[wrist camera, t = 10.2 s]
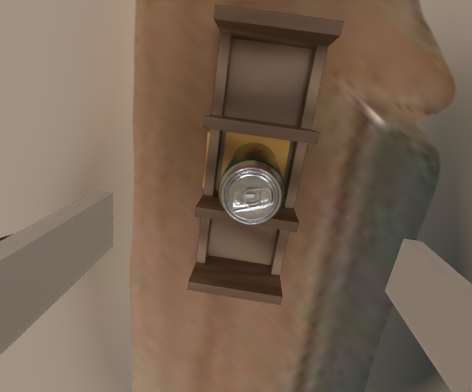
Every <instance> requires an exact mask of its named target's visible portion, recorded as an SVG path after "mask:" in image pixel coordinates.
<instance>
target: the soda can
mask: <svg viewBox="0 0 472 392" xmlns="http://www.w3.org/2000/svg"><path fill="white" fill-rule="evenodd" d="M285 196H286V189H285V183H284V180H283V177H282V174H281V172H280V169H279V166H278V163H277V160H276V158H275V155H274V154H273V152H272V151H271V150H270V149H269V148H268V147H267V146H265V145H263V144H260V143H248V144H245V145H243V146H241V147H240V148H238V149H237V150H236V152H235V153H234V155H233V156H232V158H231V160H230V162H229V164H228V166H227V168H226V170H225V171H224V173H223V175H222V177H221V179H220V182H219V186H218V197H219V201H220V204H221V206H222V208H223V209H224V210H225V212H226V213H227V214H228V215H229V216H230V217H232V218H233V219H234V220H236V221H238V222H240V223H243V224H247V225H256V224H261V223H263V222H266V221H267V220H269V219H271V218H272V217H274V216H275V215H276V214H277V213H278V212H279V210H280V209H281V207H282V206H283V203H284V200H285Z"/></svg>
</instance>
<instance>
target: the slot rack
mask: <svg viewBox="0 0 472 392" xmlns="http://www.w3.org/2000/svg"><path fill="white" fill-rule="evenodd" d="M214 20H215V22H216V24H217V26H218V28H219V30H220V42H219V51H218V61H217V70H216V80H215V89H214V99H213V109H212V115H210V116H205V117H204V127H203V128H207V129H210V131H209V132H208V136H207V146H206V156H205V165H204V175H203V185H202V187H203V188H204V194H203V196H202V198H201V199H200V201H199V203H198V204H197V206H196V210H195V217H201V223H200V233H199V242H198V252H197V261H196V264H195V267H194V269H193V272H192V274H191V277H190V279H189V282H188V290H193V291H199V292H205V293H211V294H217V295H223V296H229V297H235V298H241V299H247V300H254V301H260V302H266V303H272V304H278V305H281V301H282V290H281V282H280V272H281V267H282V262H283V257H284V253H285V248H286V243H287V238H288V234H289V231H292V232H297V229H298V224H299V222H298V219H297V216H296V213H295V211H294V205H295V201H296V196H297V191H298V186H299V182H300V177H301V172H302V168H303V163H304V158H305V153H306V149H307V144H308V143H311V144H316V143H317V138H318V134H319V133H318V132H316V131H313V130H311V125H312V120H313V116H314V111H315V106H316V101H317V97H318V92H319V87H320V83H321V78H322V73H323V68H324V64H325V59H326V54H327V49H328V46H329V45H330V44H331V43H333V42H334V41H335V40H336V39H337V38H338V37H339V36H340V34H341V30H342V25H343V21H338V20H331V19H323V18H315V17H308V16H300V15H293V14H285V13H277V12H270V11H262V10H254V9H247V8H239V7H232V6H224V5H216V4H215V15H214ZM248 143H260V144H263V145H265V146H267V147H268V148H269V149H270V150H271V151H272V152H273V154H274V155H275V158H276V160H277V163H278V166H279V169H280V172H281V174H282V177H283V180H284V183H285V189H286V196H285V200H284V203H283V206H282V207H281V209H280V210H279V212H278V213H277V214H276V215H275V216H274V217H272V218H271V219H269V220H267V221H266V222H263V223H261V224H256V225H247V224H243V223H240V222H238V221H236V220H234V219H233V218H232V217H230V216H229V215H228V214H227V213H226V212H225V210H224V209H223V208H222V206H221V204H220V201H219V197H218V186H219V182H220V179H221V177H222V175H223V173H224V171H225V170H226V168H227V166H228V164H229V162H230V160H231V158H232V156H233V155H234V153H235V152H236V150H237V149H238V148H240V147H241V146H243V145H245V144H248Z"/></svg>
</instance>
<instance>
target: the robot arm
mask: <svg viewBox="0 0 472 392" xmlns="http://www.w3.org/2000/svg"><path fill="white" fill-rule="evenodd" d="M112 247H113V193H108V192H102V191H95V192H93V193H91V194H89V195H87V196H85V197H83V198H82V199H80V200H78V201H76V202H74V203H72V204H70V205H68V206H66V207H64V208H62V209H60V210H59V211H57V212H55V213H53V214H51V215H49V216H47V217H45V218H44V219H41V220H40V221H38V222H36V223H34V224H32V225H30V226H28V227H26V228H25V229H22V230H20V231H19V232H17V233H15V234H12V235H9V236H5V237H2V238H0V355H1V354H2V353H3V352H4V351H5V350H6V349H7V348H8V347H9V346H10V345H11V344H12V343H13V342H14V341H16V340H17V339H18V338H19V337H20V336H21V335H22V334H23V333H24V332H25V331H26V330H27V329H28V328H29V327H30V326H31V325H32V324H33V323H34V322H35V321H36V320H37V319H38V318H39V317H40V316H41V315H43V313H45V312H46V311H47V310H48V309H49V308H50V307H51V306H52V305H53V304H54V303H55V302H56V301H57V300H58V299H59V298H60V297H61V296H62V295H63V294H64V293H65V292H66V291H67V290H68V289H69V288H70V287H72V286H73V285H74V284H75V283H76V282H77V281H78V280H79V279H80V278H81V277H82V276H83V275H84V274H85V273H86V272H87V271H88V270H89V269H90V268H91V267H92V266H93V265H94V264H95V263H97V261H98V260H100V259H101V258H102V257H103V256H104V255H105V254H106V253H107V252H108V251H109V250H110V249H111V248H112ZM385 292H386V294H387V295H388V297H389V298H390V300H391V301H392V303H393V304H394V306H395V307H396V309H397V310H398V311H399V313H400V315H401V316H402V318H403V319H404V321H405V322H406V324H407V325H408V327H409V328H410V330H411V331H412V333H413V334H414V336H415V337H416V339H417V340H418V342H419V343H420V345H421V346H422V348H423V349H424V351H425V352H426V354H427V355H428V357H429V358H430V360H431V361H432V363H433V364H434V366H435V367H436V369H437V370H438V372H439V373H440V375H441V376H442V378H443V379H444V381H445V383H446V384H447V386H448V387H449V388H450V390H451V391H452V392H472V284H471V283H469V282H468V281H467V280H466V279H465V278H464V277H462V276H461V275H460V274H459V273H458V272H456V271H455V270H454V269H453V268H452V267H451V266H449V265H448V264H447V263H446V262H445V261H444V260H442V259H441V258H440V257H439V256H438V255H437V254H435V253H434V252H433V251H432V250H431V249H430V248H428V247H427V246H426V245H425V244H424V243H423V242H420V241H415V240H408V239H403V242H402V245H401V248H400V250H399V253H398V256H397V259H396V262H395V264H394V267H393V270H392V273H391V275H390V278H389V281H388V284H387V286H386V289H385Z"/></svg>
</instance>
